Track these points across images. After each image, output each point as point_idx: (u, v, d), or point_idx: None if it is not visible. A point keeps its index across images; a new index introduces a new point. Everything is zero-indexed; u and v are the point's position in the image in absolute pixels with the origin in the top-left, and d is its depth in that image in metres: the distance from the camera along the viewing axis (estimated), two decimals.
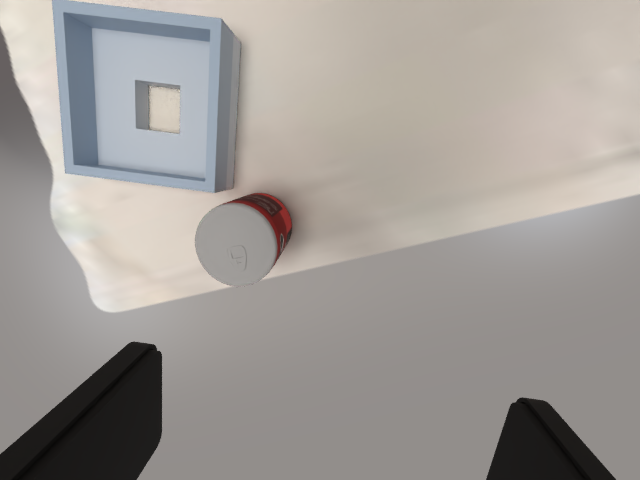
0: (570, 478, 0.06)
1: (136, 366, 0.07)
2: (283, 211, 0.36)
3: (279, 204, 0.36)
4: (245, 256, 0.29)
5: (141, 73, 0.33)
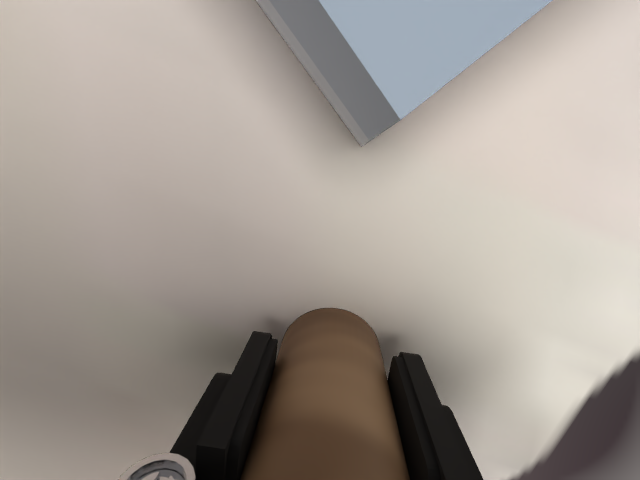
0: (407, 406, 0.07)
1: (268, 351, 0.08)
2: None
3: None
4: None
5: None
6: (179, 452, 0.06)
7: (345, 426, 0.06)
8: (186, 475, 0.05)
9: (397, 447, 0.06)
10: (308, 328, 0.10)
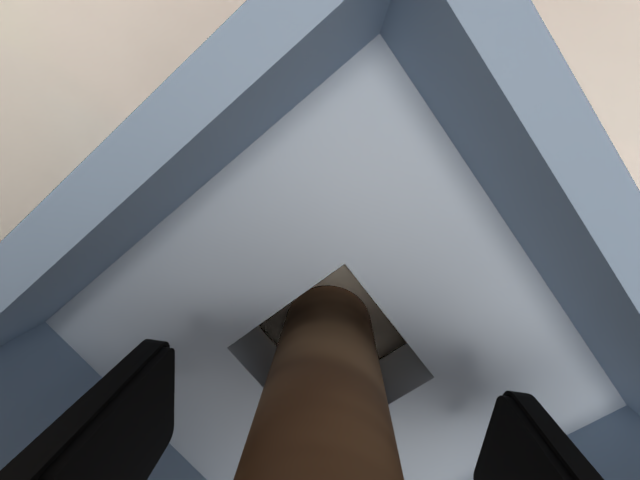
0: (550, 466, 0.06)
1: (151, 362, 0.07)
2: None
3: None
4: None
5: None
6: None
7: (339, 360, 0.08)
8: None
9: (378, 380, 0.08)
10: (309, 300, 0.12)
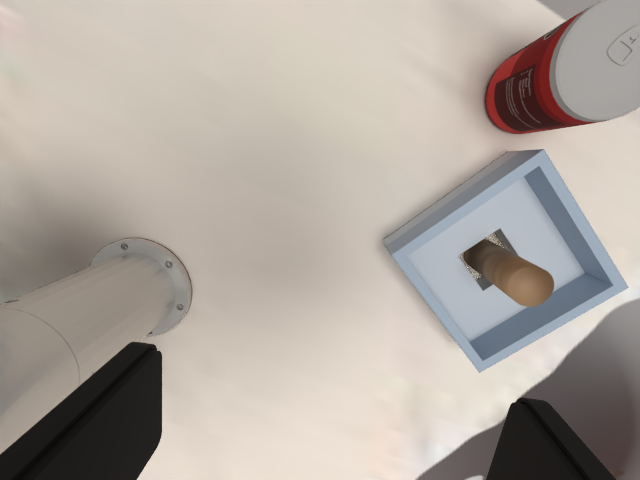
0: (570, 478, 0.06)
1: (136, 366, 0.07)
2: (500, 78, 0.29)
3: (494, 90, 0.30)
4: (618, 38, 0.21)
5: (473, 289, 0.34)
6: None
7: (507, 250, 0.31)
8: None
9: None
10: (479, 242, 0.34)
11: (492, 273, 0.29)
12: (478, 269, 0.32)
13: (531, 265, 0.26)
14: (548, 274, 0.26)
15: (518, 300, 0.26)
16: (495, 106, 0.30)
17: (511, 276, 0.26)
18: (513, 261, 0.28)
